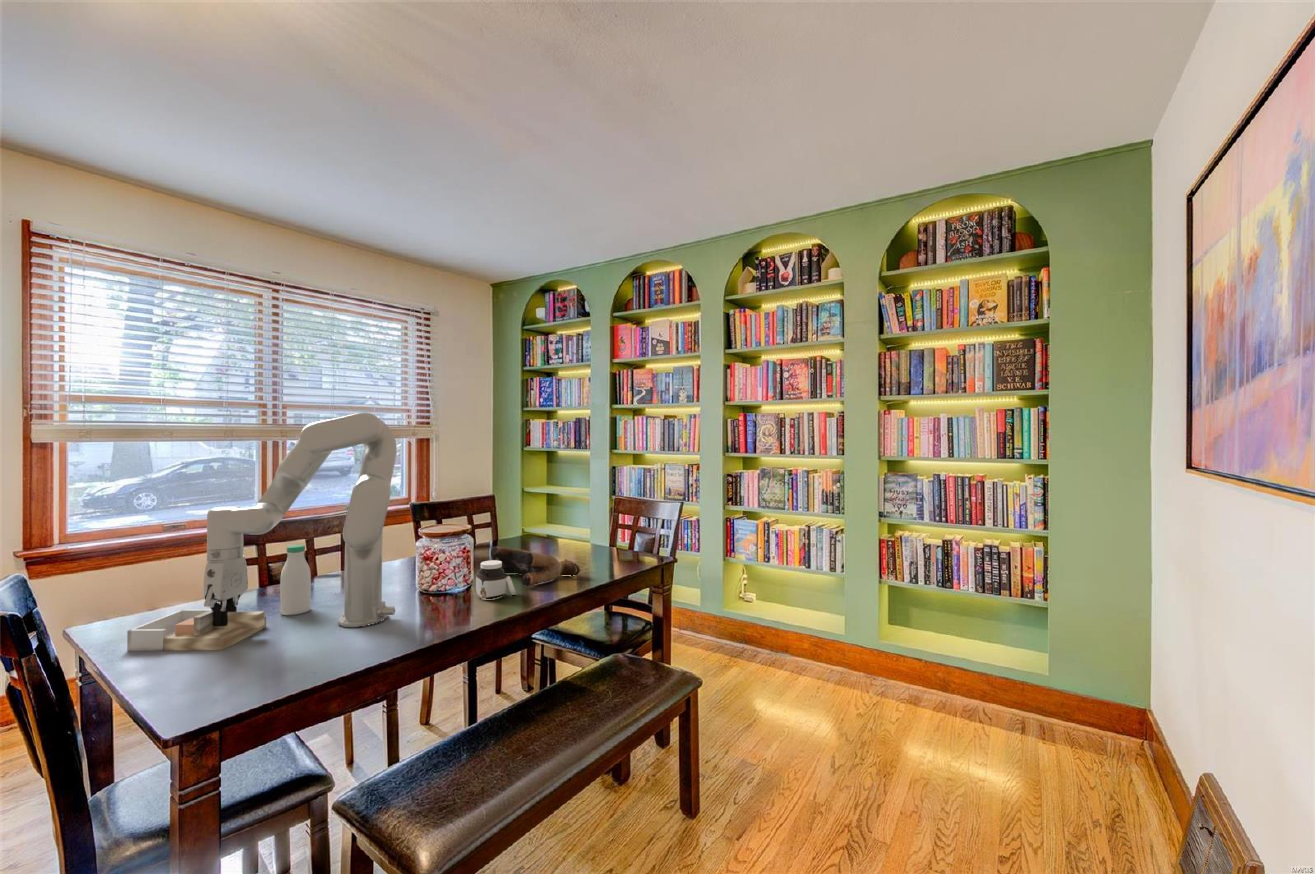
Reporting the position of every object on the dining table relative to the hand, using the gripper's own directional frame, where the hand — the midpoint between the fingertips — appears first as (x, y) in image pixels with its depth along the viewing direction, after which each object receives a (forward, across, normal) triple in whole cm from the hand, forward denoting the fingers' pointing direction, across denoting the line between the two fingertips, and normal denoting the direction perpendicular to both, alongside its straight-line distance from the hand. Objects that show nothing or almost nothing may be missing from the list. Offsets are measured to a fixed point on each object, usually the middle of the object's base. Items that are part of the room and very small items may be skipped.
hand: (225, 623), depth 142 cm
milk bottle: (+4, +21, -5) cm, 22 cm away
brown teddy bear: (+4, +60, -70) cm, 92 cm away
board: (+4, 0, +2) cm, 4 cm away
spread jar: (+4, +35, -62) cm, 72 cm away
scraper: (+1, 0, -4) cm, 4 cm away
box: (+4, 0, +13) cm, 14 cm away
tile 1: (+1, -3, +6) cm, 7 cm away
